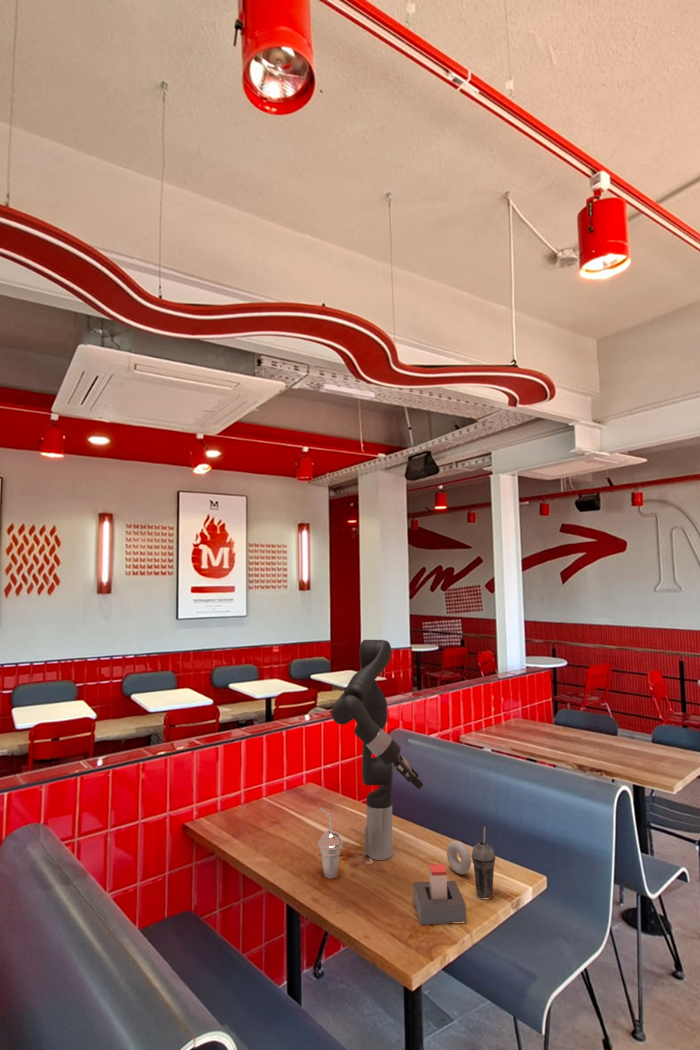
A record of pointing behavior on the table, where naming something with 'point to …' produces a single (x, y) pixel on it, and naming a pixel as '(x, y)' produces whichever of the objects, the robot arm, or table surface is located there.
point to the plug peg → (438, 882)
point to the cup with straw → (330, 850)
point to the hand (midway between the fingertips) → (418, 782)
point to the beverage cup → (483, 868)
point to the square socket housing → (439, 904)
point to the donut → (464, 855)
